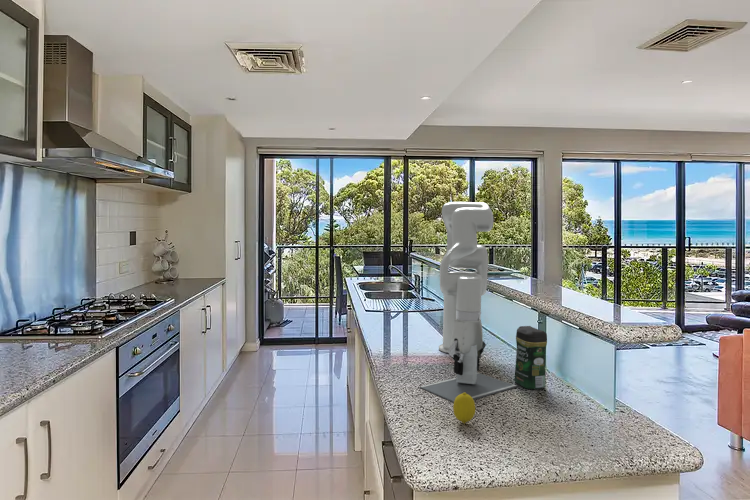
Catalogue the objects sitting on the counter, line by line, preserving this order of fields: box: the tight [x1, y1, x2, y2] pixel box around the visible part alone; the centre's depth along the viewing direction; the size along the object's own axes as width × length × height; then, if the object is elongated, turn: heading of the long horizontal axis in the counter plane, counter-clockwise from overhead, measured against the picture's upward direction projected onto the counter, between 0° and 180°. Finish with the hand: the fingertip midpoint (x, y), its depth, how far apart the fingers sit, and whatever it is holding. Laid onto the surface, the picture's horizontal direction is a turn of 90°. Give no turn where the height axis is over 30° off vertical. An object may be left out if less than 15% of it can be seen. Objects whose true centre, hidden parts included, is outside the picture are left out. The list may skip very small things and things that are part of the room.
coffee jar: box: [513, 325, 548, 391], centre depth 152 cm, size 10×8×19 cm
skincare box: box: [455, 345, 478, 384], centre depth 151 cm, size 6×4×12 cm
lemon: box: [452, 392, 476, 424], centre depth 122 cm, size 6×6×8 cm
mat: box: [419, 371, 518, 404], centre depth 149 cm, size 26×16×1 cm, turn 126°
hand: (466, 371), depth 151 cm, fingers closed on skincare box, 6 cm apart
